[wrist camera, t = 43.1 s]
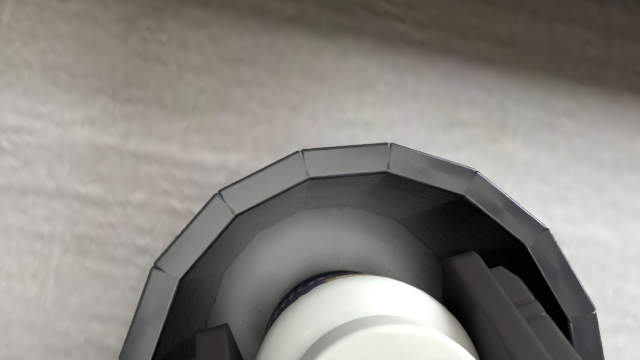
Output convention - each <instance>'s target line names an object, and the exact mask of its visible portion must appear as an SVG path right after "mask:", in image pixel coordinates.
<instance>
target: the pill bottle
mask: <svg viewBox="0 0 640 360" xmlns="http://www.w3.org/2000/svg"><path fill="white" fill-rule="evenodd" d="M255 360H480V359H479V356H478V354H477V351H476V349H475V346H474V345H473V343H472V341H471V339H470V337H469V336H468V334H467V332H466V331H465V330H464V328H463V327H462V325H461V324H460V323H459V322H458V320H457V319H456V318H455V317H454V316H453V315H452V314H451V313H450V312H449V311H448V310H447V309H446V308H445V307H444V306H443V305H442V304H440V303H439V302H438V301H437V300H435V299H434V298H433V297H431V296H430V295H428V294H427V293H425V292H423V291H421V290H419V289H417V288H416V287H413V286H411V285H408V284H406V283H404V282H401V281H397V280H394V279H391V278H388V277H382V276H377V275H372V274H367V273H361V272H355V271H348V270H338V271H329V272H324V273H320V274H317V275H314V276H312V277H310V278H308V279H306V280H304V281H302V282H301V283H299V284H298V285H296V286H295V287H294V288H293V289H292V290H290V291H289V292H288V293H287V294H286V295H285V296H284V298H283V299H282V300H281V301H280V302H279V304H278V305H277V307H276V308H275V310H274V312H273V314H272V315H271V318H270V320H269V322H268V325H267V328H266V330H265V333H264V336H263V339H262V342H261V346H260V348H259V350H258V353H257V355H256V358H255Z"/></svg>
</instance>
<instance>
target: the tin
mask: <svg viewBox="0 0 640 360" xmlns="http://www.w3.org/2000/svg"><path fill="white" fill-rule="evenodd" d="M470 251H475V252H476V253H477V254H478V255H479V256H480V258H481V259H482V260H483V262H484V263H485V265H486V266H487V267H488V269H492V268H495V267H498V266H502V267H503V268H505V269H506V270H508V271H509V272H511V273H512V274H514V275H516V276H517V277H519V278H520V279H521V280H522V281H523V283H524V284H525V285H526V287H527V288H528V289H529V291H530V292H531V293H532V294H533V296H534V299H535V300H537V301H538V302H539V304H540V305H541V306H542V307H543V309H544V310H545V313H546V314H548V315H549V317H550V318H551V319H552V321H553V322H554V323H555V324H556V326H557V327H558V328H559V330H560V331H561V332H562V334H563V335H564V336H565V337H566V339H567V340H568V341H569V343H570V344H571V345H572V347H573V348H574V349H575V350H576V352H577V353H578V354H579V356H580V357H581V358H582V360H604V354H603V348H602V342H601V336H600V331H599V325H598V319H597V314H596V312H595V310H596V308H595V306H594V305H593V303H592V301H591V300H590V298H589V296H588V294H587V293H586V291H585V289H584V288H583V286H582V284H581V282H580V281H579V279H578V277H577V276H576V274H575V272H574V270H573V269H572V267H571V265H570V264H569V262H568V260H567V258H566V257H565V255H564V253H563V252H562V250H561V248H560V246H559V245H558V243H557V241H556V240H555V238H554V236H553V234H552V233H551V231H550V229H549V228H546V226H545V225H544V224H543V223H542V222H540V221H539V220H538V219H537V218H535V217H534V216H533V215H532V214H530V213H529V212H528V211H527V210H525V209H524V208H523V207H522V206H521V205H519V204H518V203H517V202H516V201H514V200H513V199H512V198H511V197H509V196H508V195H507V194H506V193H504V192H503V191H502V190H501V189H499V188H498V187H497V186H496V185H495V184H493V183H492V182H491V181H490V180H488V179H487V178H486V177H485V176H483V175H482V174H481V173H480V172H478V171H475V169H474V168H471V167H468V166H464V165H461V164H458V163H455V162H452V161H449V160H445V159H442V158H439V157H436V156H433V155H429V154H426V153H423V152H420V151H417V150H414V149H410V148H407V147H404V146H401V145H398V144H395V143H390V144H389V143H374V144H362V145H349V146H336V147H324V148H311V149H303V150H301V151H296V152H294V153H292V154H290V155H288V156H286V157H284V158H282V159H280V160H278V161H276V162H274V163H272V164H270V165H268V166H266V167H264V168H262V169H260V170H258V171H256V172H254V173H252V174H250V175H248V176H246V177H244V178H242V179H240V180H238V181H236V182H234V183H232V184H230V185H228V186H226V187H224V188H222V189H220V190H219V191H218V193H215V194H214V195H213V196H212V197H211V198H210V200H209V201H208V202H207V203H206V204H205V205H204V206H203V207H202V209H201V210H200V211H199V212H198V213H197V214H196V215H195V217H194V218H193V219H192V220H191V221H190V222H189V223H188V225H187V226H186V227H185V228H184V229H183V230H182V231H181V232H180V234H179V235H178V236H177V237H176V238H175V239H174V240H173V242H172V243H171V244H170V245H169V246H168V247H167V248H166V249H165V251H164V252H163V253H162V254H161V255H160V256H159V257H158V259H157V260H156V261H155V262H154V266H152V268H151V269H150V272H149V275H148V278H147V280H146V283H145V286H144V289H143V291H142V294H141V297H140V300H139V302H138V305H137V308H136V311H135V314H134V316H133V319H132V322H131V325H130V327H129V330H128V333H127V336H126V339H125V341H124V344H123V347H122V350H121V352H120V355H119V360H187V359H190V358H193V357H196V340H195V337H196V332H197V331H201V330H204V329H208V328H211V327H214V326H218V325H221V324H225V323H228V324H229V326H230V329H231V331H232V333H233V336H234V338H235V341H236V343H237V345H238V348H239V350H240V353H241V355H242V357H243V360H255V358H256V355H257V353H258V350H259V348H260V346H261V342H262V339H263V336H264V333H265V330H266V328H267V325H268V322H269V320H270V318H271V315H272V314H273V312H274V310H275V308H276V307H277V305H278V304H279V302H280V301H281V300H282V299H283V298H284V296H285V295H286V294H287V293H288V292H289V291H290V290H292V289H293V288H294V287H295V286H296V285H298V284H299V283H301V282H302V281H304V280H306V279H308V278H310V277H312V276H314V275H317V274H320V273H324V272H329V271H338V270H348V271H355V272H361V273H367V274H372V275H377V276H382V277H388V278H391V279H394V280H397V281H401V282H404V283H406V284H408V285H411V286H413V287H416V288H417V289H419V290H421V291H423V292H425V293H427V294H428V295H430V296H431V297H433V298H434V299H435V300H437V301H438V302H439V303H440V304H442V305H443V306H444V303H443V261H444V259H446V258H449V257H453V256H456V255H460V254H463V253H467V252H470Z"/></svg>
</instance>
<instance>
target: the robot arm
mask: <svg viewBox="0 0 640 360" xmlns="http://www.w3.org/2000/svg"><path fill="white" fill-rule="evenodd" d="M443 303H444V307H445V308H446V309H447V310H448V311H449V312H450V313H451V314H452V315H453V316H454V317H455V318H456V319H457V320H458V322H459V323H460V324H461V325H462V327H463V328H464V330H465V331H466V332H467V334H468V336H469V337H470V339H471V341H472V343H473V345H474V346H475V349H476V351H477V354H478V356H479V359H480V360H582V358H581V357H580V356H579V354H578V353H577V352H576V350H575V349H574V348H573V347H572V345H571V344H570V343H569V341H568V340H567V339H566V337H565V336H564V335H563V334H562V332H561V331H560V330H559V328H558V327H557V326H556V324H555V323H554V322H553V321H552V319H551V318H550V317H549V315H548V314H546V313H545V310H544V309H543V307H542V306H541V305H540V304H539V302H538V301H537V300H535V299H534V296H533V294H532V293H531V292H530V291H529V289H528V288H527V287H526V285H525V284H524V283H523V281H522V280H521V279H520V278H519V277H517V276H516V275H514V274H512V273H511V272H509V271H508V270H506V269H505V268H503V267H502V266H498V267H495V268H492V269H488V267H487V266H486V265H485V263H484V262H483V260H482V259H481V258H480V256H479V255H478V254H477V253H476V252H475V251H470V252H467V253H463V254H460V255H456V256H453V257H449V258H446V259H444V261H443ZM195 340H196V357H193V358H190V359H187V360H243V357H242V355H241V353H240V350H239V348H238V345H237V343H236V341H235V338H234V336H233V333H232V331H231V329H230V326H229V324H228V323H225V324H221V325H218V326H214V327H211V328H208V329H204V330H201V331H197V332H196V337H195Z"/></svg>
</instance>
